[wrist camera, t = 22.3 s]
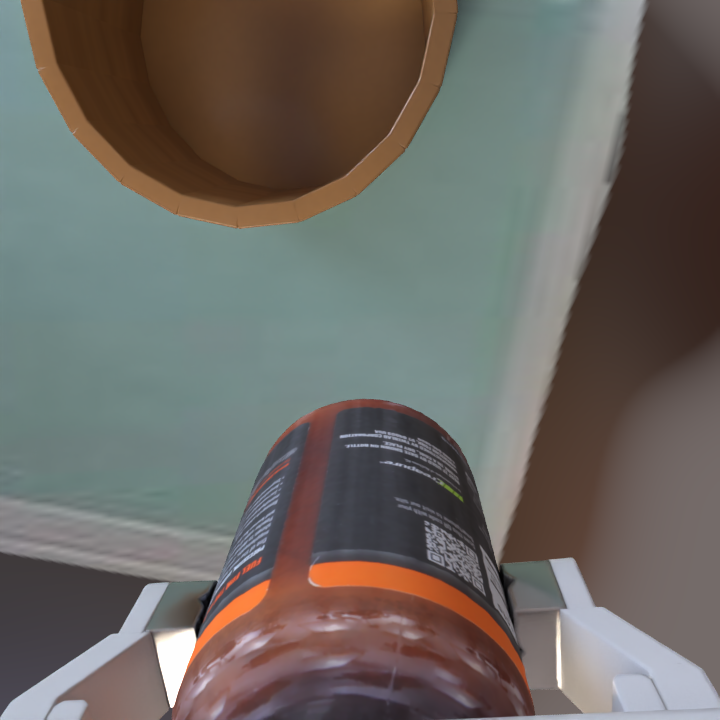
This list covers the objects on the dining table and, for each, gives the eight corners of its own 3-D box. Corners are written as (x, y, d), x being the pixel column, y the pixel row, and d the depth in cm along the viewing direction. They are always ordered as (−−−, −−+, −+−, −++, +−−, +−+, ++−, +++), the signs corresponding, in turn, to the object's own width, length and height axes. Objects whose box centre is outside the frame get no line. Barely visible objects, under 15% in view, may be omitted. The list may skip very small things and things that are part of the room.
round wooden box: (220, 250, 34) (155, 288, 25) (71, -42, 31) (-67, -118, 22) (487, 126, 32) (521, 119, 23) (361, -210, 28) (341, -376, 19)
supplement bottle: (256, 571, 20) (90, 1099, 9) (264, 380, 18) (65, 751, 7) (461, 592, 19) (547, 1151, 9) (491, 401, 18) (647, 812, 7)
